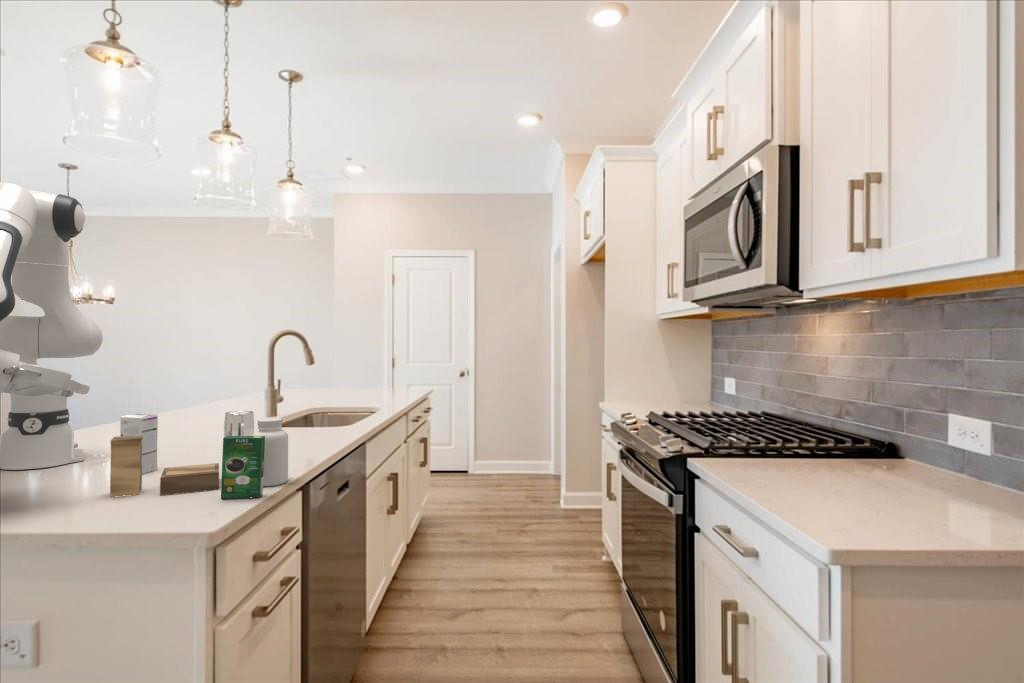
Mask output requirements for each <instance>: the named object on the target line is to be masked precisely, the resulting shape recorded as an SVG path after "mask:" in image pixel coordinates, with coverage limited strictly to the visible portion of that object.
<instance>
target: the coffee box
mask: <svg viewBox="0 0 1024 683" xmlns="http://www.w3.org/2000/svg"><path fill="white" fill-rule="evenodd" d="M264 451H265V436H225V437H224V436H223V440H222V456H221V457H222V458H221V459H222V460H221V461H222V462H221V484H220V485H221V486H220V488H221V489H220V499H221V500H226V499H228V500H230V499H229V498H233V499H254V498H253V497H260V498H261V497H262V496H261V495H263V492H264V490H263V489H264V487H263V472H264ZM250 497H252V498H250Z"/></svg>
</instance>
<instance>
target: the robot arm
mask: <svg viewBox="0 0 1024 683" xmlns="http://www.w3.org/2000/svg"><path fill="white" fill-rule="evenodd" d="M85 221H86V215H85V211H84V208H83V206H82V204H81V203H80V201H78V200H77V198H75V197H72V196H69V195H65V194H56V193H55V194H54V193H51V192H46V191H40V190H35V189H28V188H25V187H23V186H20V185H19V184H15V183H13V182H6V181H0V396H1V395H2V394H3V393H4V394H10V411H9V412H8V414H7V427H8V428H7V429H6V430H5V431H4V432H2V433H1V434H0V470H5V471H6V470H7V471H9V470H11V471H15V470H16V471H17V470H20V471H21V470H33V469H35V470H36V469H44V468H52V467H58V466H62V465H65V464H66V465H67V464H71V463H77V462H82V461H85V458H84V451H83V449H82V448H78V447H79V446H78V443H77V442H75V430H73V429H72V428H71V425H70V424H69V422H70V412H69V409H68V408H67V405H68V398H70V397H73V395H74V393H76V394H81V395H86V394H88V393H89V391H90V389H91V387H90V386H89V385H86V384H83V383H80V382H78V381H76V380H73V379H72V374H71V373H69V372H67V371H64V370H59V369H56V368H51V367H47V366H43V365H42V366H41V365H38V363H37V360H38V359H74V358H81V357H87V356H92V355H94V354H96V352H98V351H99V350H100V348H101V347H102V343H103V338H104V336H103V332H102V329H101V328H100V326H99V325H98V324H97V323H96V322H95V321H93V320H91V319H90V318H88V317H87V316H86V315H85V314H84V313H82V311H80V310H79V308H78V307H77V305H76V304H75V303H74V301H73V297H72V295H71V292H70V291H71V289H70V280H69V253H68V252H69V251H68V244H67V243H69V241H70V240H71V239H73V238H75V237H77V236H78V235H79V234H81V233H82V231H83V229H84V226H85V223H86V222H85ZM15 295H16V296H17V297H18V298H19V299H21V300H23V301H26V302H28V303H30V304H33V305H34V306H38V307H39V308H41V309H42V310H43V313H44V315H43V316H31V315H30V316H26V315H25V316H24V315H23V316H21V315H11V313H12V312H13V311H14V309H15V306H16V297H15Z"/></svg>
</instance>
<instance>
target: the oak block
mask: <svg viewBox="0 0 1024 683" xmlns="http://www.w3.org/2000/svg"><path fill="white" fill-rule="evenodd" d="M142 439H143V435H138V436H121V437H120V436H113V438H112V439H111V440H110V475H109V476H110V477H109V478H110V480H109V482H110V483H109V485H110V487H109V489H110V490H109V498H110V497H113V498H116V497H115V496H123V495H132V496H135V495H134V494H139V493H140V494H141V492H142V490H143V489H142V488H143V486H142V485H143V484H142V483H143V474H142ZM140 491H141V492H140ZM140 494H139V495H140ZM123 497H124V496H123Z"/></svg>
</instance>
